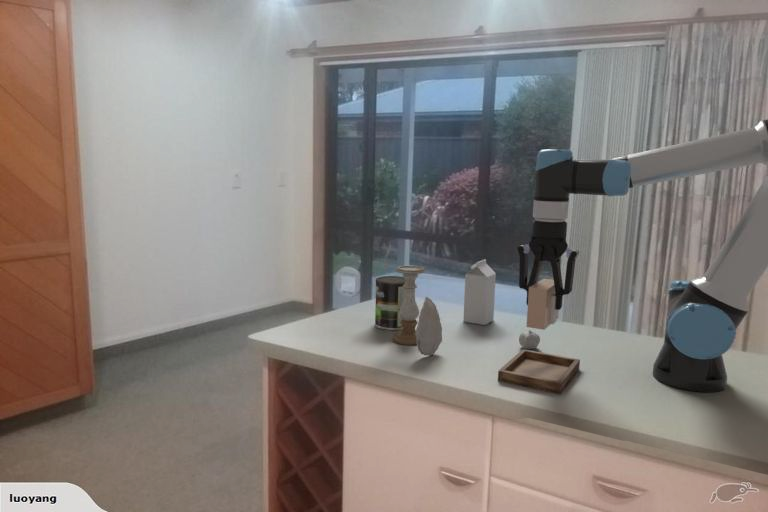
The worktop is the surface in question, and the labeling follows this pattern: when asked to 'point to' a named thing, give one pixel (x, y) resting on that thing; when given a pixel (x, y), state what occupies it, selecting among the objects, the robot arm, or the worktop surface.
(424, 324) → the stone tool
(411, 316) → the candle holder
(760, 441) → the worktop surface
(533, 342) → the garlic
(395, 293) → the coffee can
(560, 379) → the tray
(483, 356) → the worktop surface
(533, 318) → the tan rectangular block
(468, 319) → the milk carton
